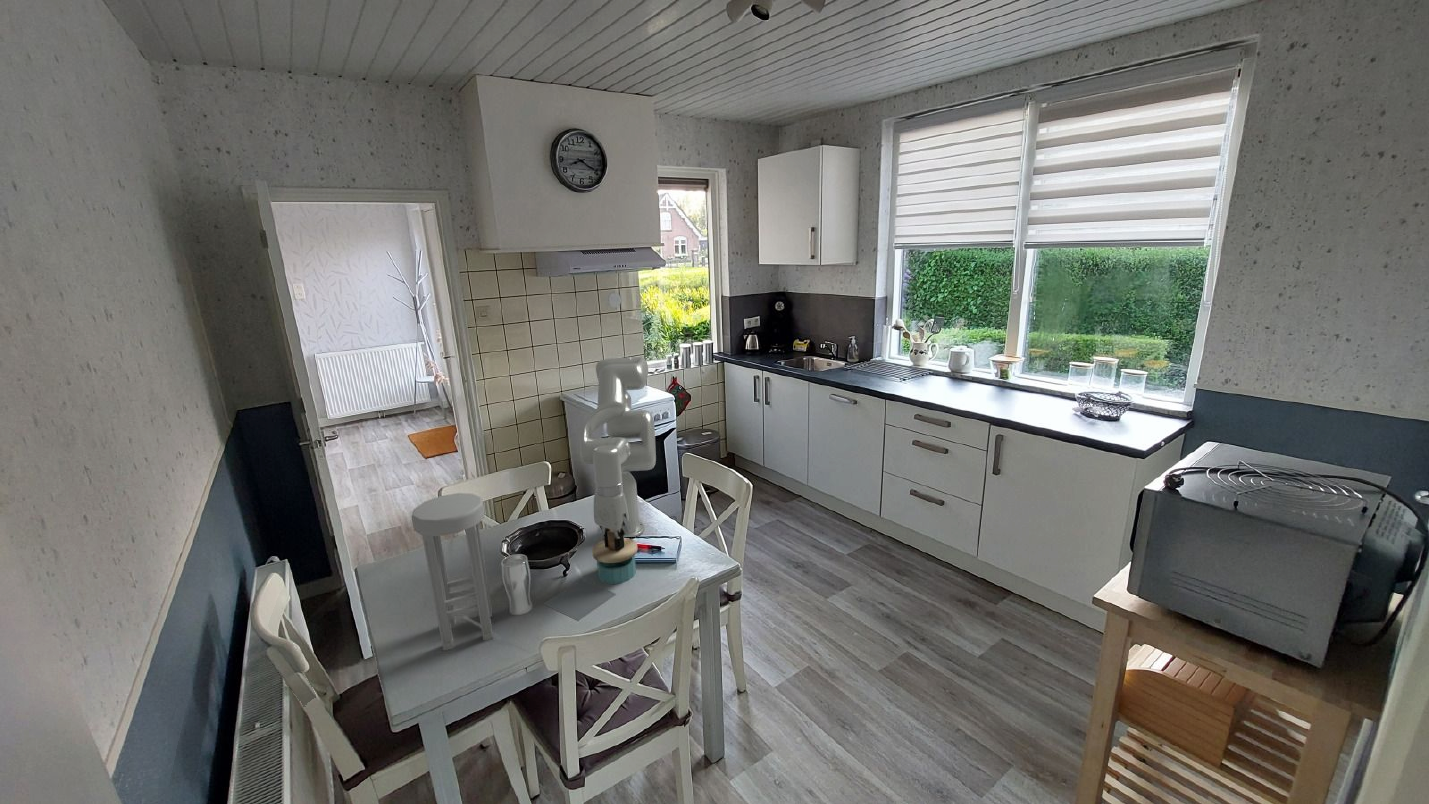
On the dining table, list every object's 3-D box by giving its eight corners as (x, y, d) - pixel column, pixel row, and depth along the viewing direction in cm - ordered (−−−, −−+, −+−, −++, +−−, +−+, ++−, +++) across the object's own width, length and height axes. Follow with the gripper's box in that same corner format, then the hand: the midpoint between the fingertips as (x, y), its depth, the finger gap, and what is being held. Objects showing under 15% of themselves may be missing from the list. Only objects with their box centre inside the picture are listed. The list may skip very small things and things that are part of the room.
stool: (501, 641, 144) (481, 512, 135) (433, 658, 139) (407, 525, 130) (500, 607, 158) (482, 488, 149) (438, 621, 153) (415, 499, 144)
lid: (583, 555, 168) (581, 535, 167) (614, 537, 178) (613, 518, 177) (615, 567, 161) (613, 547, 159) (646, 547, 171) (645, 528, 170)
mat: (543, 605, 158) (543, 603, 158) (581, 581, 169) (581, 579, 169) (578, 622, 150) (578, 620, 150) (616, 596, 161) (616, 594, 161)
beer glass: (527, 599, 161) (520, 550, 158) (539, 609, 157) (532, 559, 153) (503, 610, 157) (495, 560, 153) (515, 621, 152) (507, 570, 148)
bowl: (590, 578, 171) (589, 563, 169) (617, 561, 179) (615, 546, 178) (617, 589, 164) (616, 573, 163) (643, 571, 173) (642, 556, 172)
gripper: (579, 487, 166) (585, 545, 171) (621, 499, 157) (626, 560, 162) (598, 478, 172) (603, 535, 177) (640, 489, 163) (644, 549, 168)
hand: (614, 546), depth 169 cm, fingers closed on lid, 3 cm apart
